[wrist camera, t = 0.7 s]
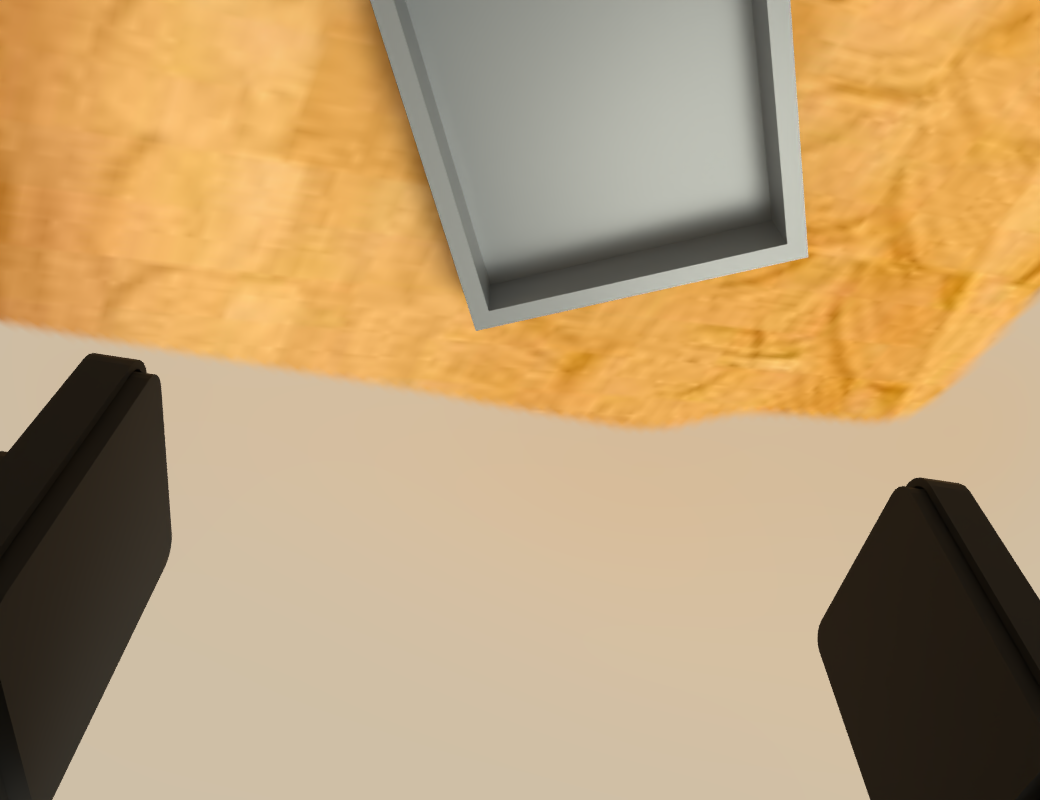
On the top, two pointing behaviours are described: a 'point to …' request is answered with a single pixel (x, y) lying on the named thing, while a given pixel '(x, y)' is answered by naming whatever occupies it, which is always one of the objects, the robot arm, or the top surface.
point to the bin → (601, 143)
